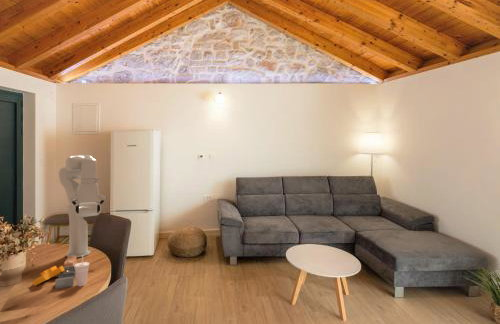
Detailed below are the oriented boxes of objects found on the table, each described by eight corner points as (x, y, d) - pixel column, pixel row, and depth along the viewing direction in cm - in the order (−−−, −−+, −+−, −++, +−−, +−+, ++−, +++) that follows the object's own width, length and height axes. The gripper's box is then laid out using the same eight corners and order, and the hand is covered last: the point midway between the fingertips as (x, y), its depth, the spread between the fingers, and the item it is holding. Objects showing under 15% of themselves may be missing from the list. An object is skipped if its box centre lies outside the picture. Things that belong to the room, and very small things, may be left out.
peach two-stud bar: (68, 265, 168) (68, 255, 168) (76, 264, 169) (76, 254, 169) (63, 273, 157) (63, 262, 156) (72, 272, 158) (72, 262, 158)
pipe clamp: (50, 268, 153) (60, 262, 152) (54, 276, 152) (64, 270, 152) (30, 277, 141) (41, 271, 140) (34, 286, 141) (45, 279, 140)
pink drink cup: (78, 288, 139) (78, 258, 138) (71, 285, 142) (71, 255, 142) (92, 283, 144) (92, 254, 144) (84, 280, 148) (84, 252, 147)
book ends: (59, 275, 153) (60, 267, 153) (75, 273, 156) (75, 265, 156) (55, 288, 138) (55, 280, 138) (73, 286, 141) (73, 277, 141)
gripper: (106, 180, 171) (105, 210, 172) (70, 180, 164) (70, 212, 164) (106, 181, 164) (105, 213, 165) (69, 182, 157) (68, 215, 157)
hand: (88, 212), depth 164 cm, fingers open, 9 cm apart
